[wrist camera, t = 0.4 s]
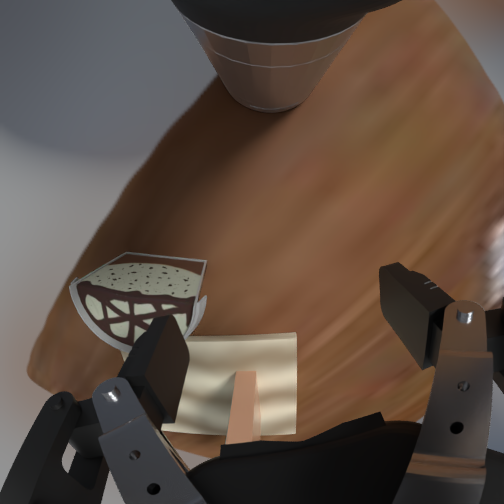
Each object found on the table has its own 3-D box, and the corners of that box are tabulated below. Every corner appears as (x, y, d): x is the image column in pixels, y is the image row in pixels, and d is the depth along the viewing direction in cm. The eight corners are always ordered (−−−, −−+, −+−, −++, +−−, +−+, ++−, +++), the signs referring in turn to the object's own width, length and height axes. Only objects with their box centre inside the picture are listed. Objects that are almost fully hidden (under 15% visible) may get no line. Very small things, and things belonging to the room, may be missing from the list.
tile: (234, 371, 33) (219, 468, 20) (256, 370, 33) (249, 469, 20) (242, 417, 36) (233, 503, 22) (261, 417, 36) (257, 503, 22)
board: (120, 333, 34) (116, 338, 33) (295, 332, 32) (296, 338, 31) (155, 423, 39) (153, 429, 38) (295, 427, 38) (295, 433, 37)
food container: (119, 299, 32) (76, 344, 23) (114, 250, 30) (64, 285, 21) (219, 313, 32) (201, 371, 23) (221, 261, 30) (201, 308, 21)
